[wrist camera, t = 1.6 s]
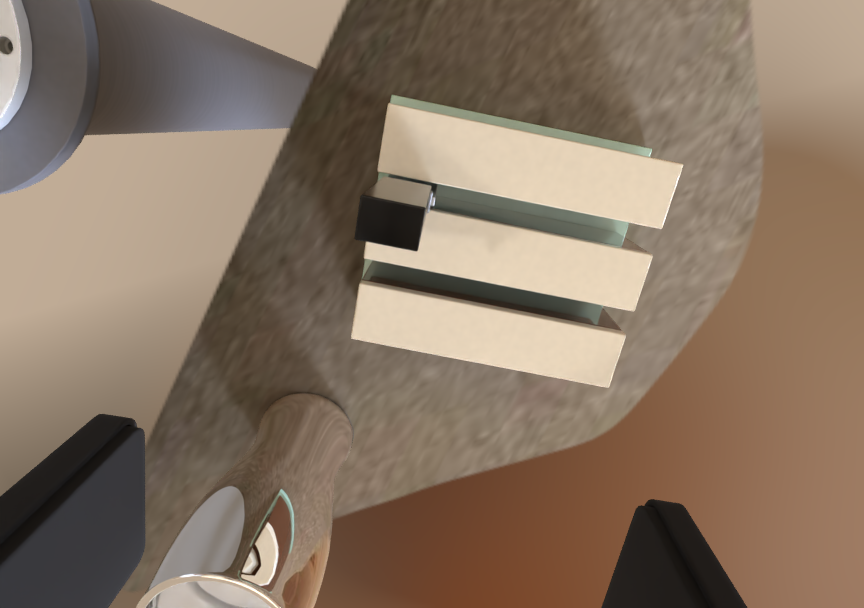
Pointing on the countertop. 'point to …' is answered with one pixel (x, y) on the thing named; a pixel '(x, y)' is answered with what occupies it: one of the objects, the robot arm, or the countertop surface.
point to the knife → (395, 212)
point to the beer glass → (262, 518)
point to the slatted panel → (512, 242)
